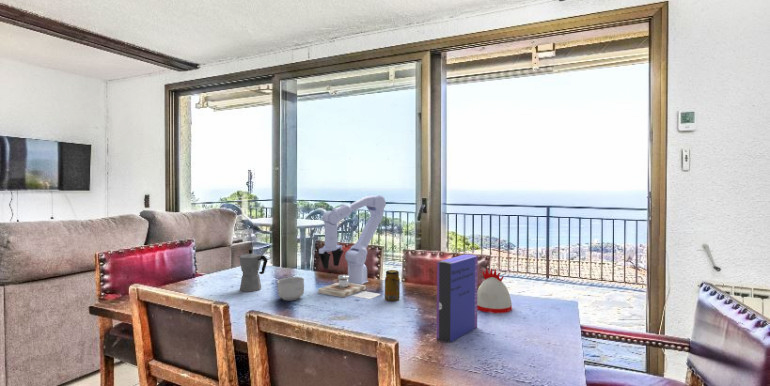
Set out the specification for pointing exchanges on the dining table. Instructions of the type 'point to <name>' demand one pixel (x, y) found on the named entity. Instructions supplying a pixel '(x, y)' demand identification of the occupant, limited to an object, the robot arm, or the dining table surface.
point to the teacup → (290, 288)
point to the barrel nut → (343, 281)
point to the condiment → (392, 285)
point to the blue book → (456, 297)
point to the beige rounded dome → (493, 294)
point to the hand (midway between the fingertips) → (330, 267)
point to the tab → (367, 295)
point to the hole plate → (340, 292)
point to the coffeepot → (251, 271)
